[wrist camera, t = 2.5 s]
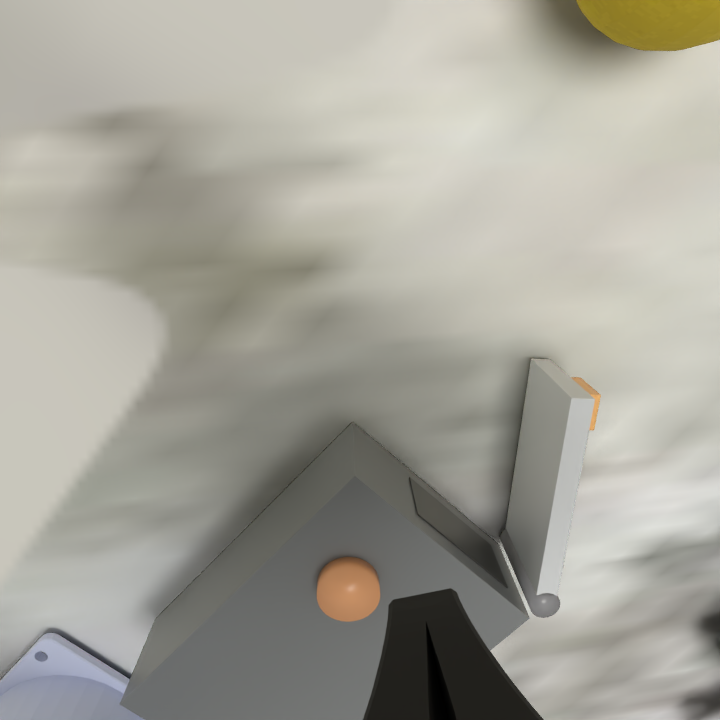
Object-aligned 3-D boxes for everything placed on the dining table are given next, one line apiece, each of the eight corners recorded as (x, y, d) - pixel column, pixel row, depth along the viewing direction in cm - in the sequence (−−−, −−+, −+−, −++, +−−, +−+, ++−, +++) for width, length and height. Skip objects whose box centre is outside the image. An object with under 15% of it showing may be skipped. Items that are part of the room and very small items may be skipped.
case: (316, 726, 26) (311, 838, 21) (155, 618, 24) (112, 719, 19) (514, 556, 23) (554, 645, 19) (353, 420, 21) (356, 485, 17)
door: (498, 547, 23) (528, 617, 19) (527, 358, 20) (566, 397, 17) (534, 548, 23) (570, 618, 19) (566, 360, 20) (615, 399, 17)
